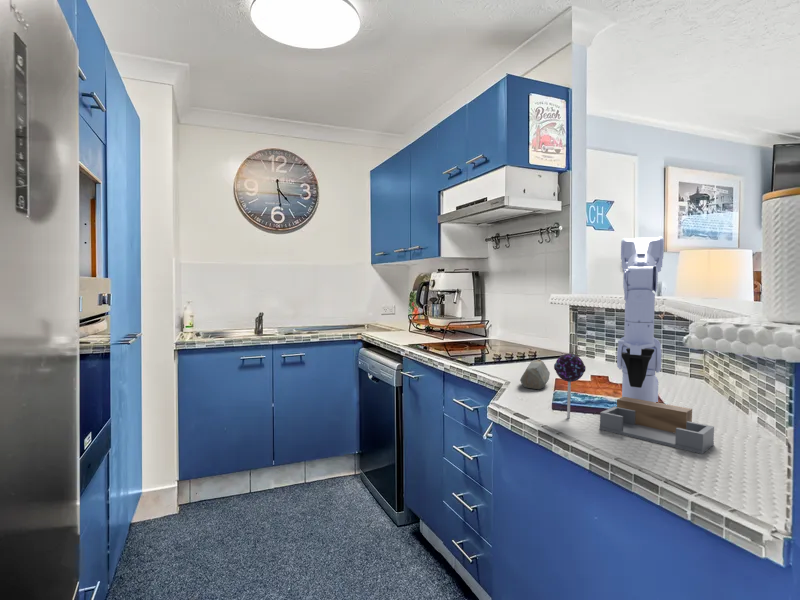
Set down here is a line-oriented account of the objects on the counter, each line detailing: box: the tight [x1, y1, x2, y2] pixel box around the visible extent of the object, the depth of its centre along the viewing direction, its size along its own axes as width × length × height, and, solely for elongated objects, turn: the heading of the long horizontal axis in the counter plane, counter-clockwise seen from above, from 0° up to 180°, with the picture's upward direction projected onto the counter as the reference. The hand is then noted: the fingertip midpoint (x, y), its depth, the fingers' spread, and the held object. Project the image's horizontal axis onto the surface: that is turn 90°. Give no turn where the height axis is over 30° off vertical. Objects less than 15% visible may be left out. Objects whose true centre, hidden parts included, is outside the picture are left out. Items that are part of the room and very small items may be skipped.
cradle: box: [599, 406, 715, 455], centre depth 94 cm, size 8×19×4 cm, turn 42°
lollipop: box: [553, 353, 587, 419], centre depth 106 cm, size 7×7×15 cm
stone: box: [519, 358, 551, 390], centre depth 140 cm, size 12×8×8 cm, turn 154°
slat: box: [616, 396, 693, 433], centre depth 101 cm, size 4×14×5 cm, turn 43°
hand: (637, 383), depth 100 cm, fingers open, 7 cm apart
